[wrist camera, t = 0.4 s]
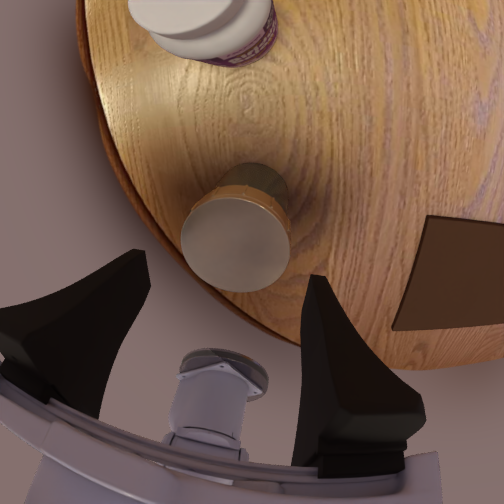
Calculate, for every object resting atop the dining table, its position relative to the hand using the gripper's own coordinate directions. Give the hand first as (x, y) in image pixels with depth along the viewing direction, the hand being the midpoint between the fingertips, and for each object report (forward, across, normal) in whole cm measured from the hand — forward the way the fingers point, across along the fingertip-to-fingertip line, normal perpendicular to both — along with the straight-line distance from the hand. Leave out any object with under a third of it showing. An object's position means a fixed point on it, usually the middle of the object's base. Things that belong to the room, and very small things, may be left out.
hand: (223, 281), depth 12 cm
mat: (+9, -27, +4) cm, 28 cm away
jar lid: (+3, 0, 0) cm, 3 cm away
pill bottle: (+10, +2, -12) cm, 15 cm away
